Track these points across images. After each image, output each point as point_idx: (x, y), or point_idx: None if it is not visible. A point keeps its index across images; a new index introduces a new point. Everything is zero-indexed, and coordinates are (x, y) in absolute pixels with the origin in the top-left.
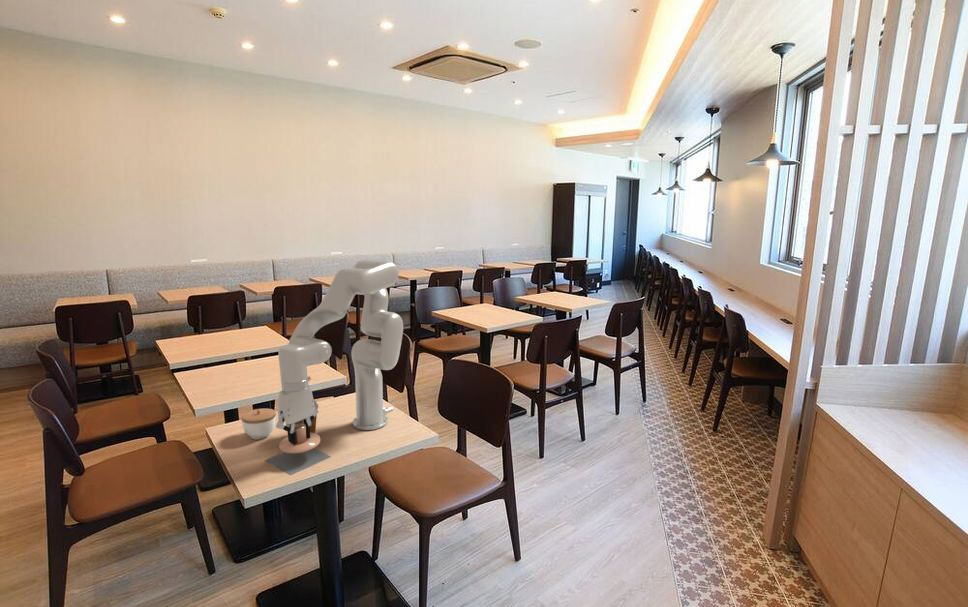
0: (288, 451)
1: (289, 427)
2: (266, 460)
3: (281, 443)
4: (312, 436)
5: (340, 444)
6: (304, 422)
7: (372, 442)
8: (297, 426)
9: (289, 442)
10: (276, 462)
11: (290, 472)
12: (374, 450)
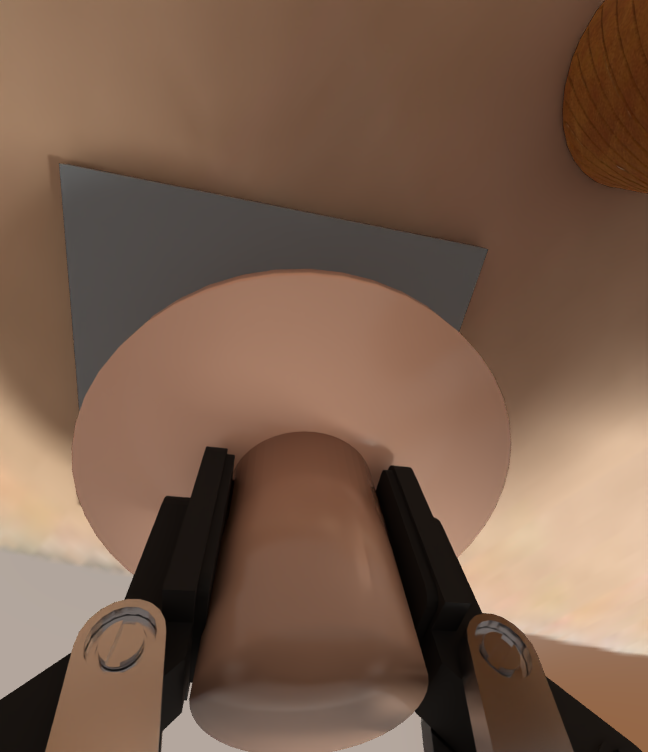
0: (101, 532)
1: (147, 695)
2: (69, 182)
3: (142, 363)
4: (435, 513)
5: (560, 445)
6: (463, 690)
7: (614, 551)
8: (300, 689)
9: (219, 424)
10: (117, 303)
11: None
12: (533, 603)
